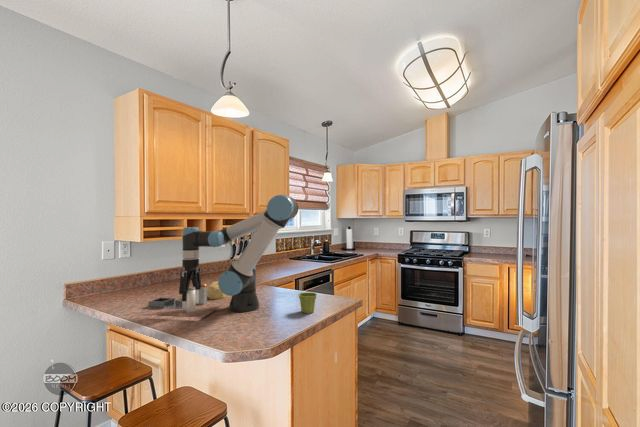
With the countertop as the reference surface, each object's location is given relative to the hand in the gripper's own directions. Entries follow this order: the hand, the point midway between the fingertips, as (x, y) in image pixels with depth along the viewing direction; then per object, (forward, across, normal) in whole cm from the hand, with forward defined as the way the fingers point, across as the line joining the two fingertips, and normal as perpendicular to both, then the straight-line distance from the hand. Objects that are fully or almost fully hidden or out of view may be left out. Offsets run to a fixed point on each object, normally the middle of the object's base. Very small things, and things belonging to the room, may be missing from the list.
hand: (190, 305), depth 156 cm
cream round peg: (+4, 0, 0) cm, 4 cm away
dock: (+4, -9, -15) cm, 18 cm away
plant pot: (+5, -12, +56) cm, 57 cm away
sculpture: (+5, -28, 0) cm, 28 cm away
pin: (+4, -13, -1) cm, 14 cm away
